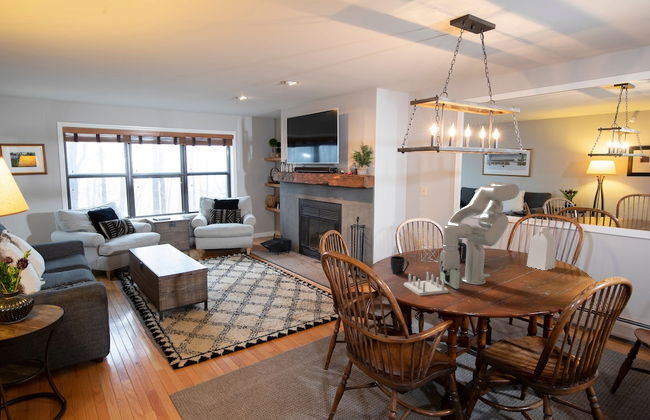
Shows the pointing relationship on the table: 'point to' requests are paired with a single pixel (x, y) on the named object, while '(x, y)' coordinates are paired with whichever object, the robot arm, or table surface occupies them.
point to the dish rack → (426, 286)
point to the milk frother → (462, 245)
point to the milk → (542, 250)
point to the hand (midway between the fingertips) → (449, 281)
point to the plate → (451, 278)
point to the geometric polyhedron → (427, 253)
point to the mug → (398, 264)
